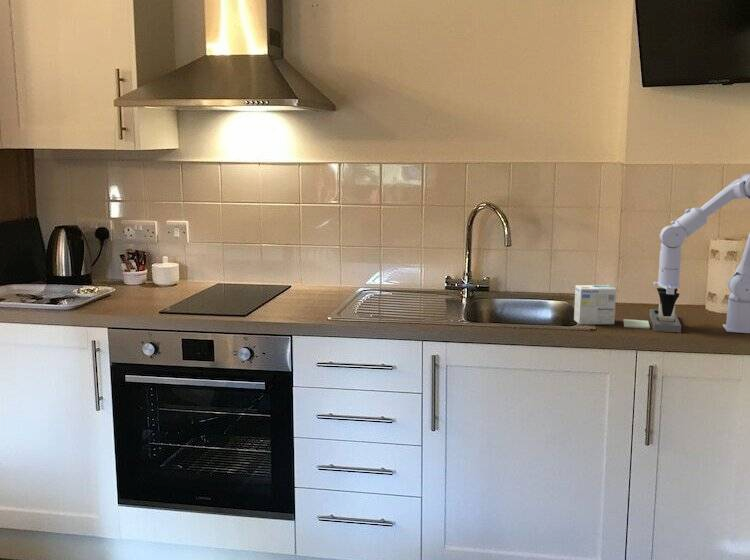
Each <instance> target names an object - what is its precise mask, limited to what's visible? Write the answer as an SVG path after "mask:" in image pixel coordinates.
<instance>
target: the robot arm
mask: <svg viewBox="0 0 750 560" xmlns="http://www.w3.org/2000/svg"><path fill="white" fill-rule="evenodd" d="M746 198H747V199H749V200H750V172H747V173H744V174H743V175H742V176H740V178H737V179H734V180H733V181H732V182H730V183H729V184H728V185H726V187H724V188H723V189H721V190H720V191H719V192H718V193H717V194H716V195H714V196H713V197H712V198H711V199H709V200H708V201H706V203H704V204H703V205H702V206H701V207H692V208H690V209H689V208H686V209H685V210H684V213H683V215H681V216H680V217H678V218H677V219H676V220H672V221H670V224H671V225H666V226H664V227H663V228H662V229H661V231H660V233H659V235H658V237H659V240H660V242H661V243H660V251H659V259H658V260H659V262H658V274H657V275H658V277H657V278H658V279H657V281H653V286H658V287H656V291H657V293H658V295H659V301H661V303H662V312H663V316H669V317H671V315H672V312H673V308H674V305H675V306H676V301H677V300H678V298H679V297H680V293H678V288H679V287H680V286H681V283H680V278H681V276H680V275H681V263H682V262H681V261H682V260H681V259H682V245H683V244H684V242H685V238H688V237H690V236H692V235H693V234H694V233H695V232H697V231H698V230H700V229H701V228H702V227H703V226H705V225H706V224H707V221H708V217H710V216H711V215H712V214H713V213H715V212H717V211H718V210H719V209H721V208H723V207H724V206H725V205H727V204H728V203H730V202H731V201H733V200H739V199H746ZM727 282H728V283H727V287H728V289H729V291H730V294H729V296H728V298H727V309H726V319H725V321H726V323H724V324H722V327H723V328H724V330H725V332H727V333H740V334H741V333H742V334H750V232H749V233H748V236H747V241H746V243H745V247H744V251H743V253H742V256H741V259H740V263H739V264H738V266H737V267H736V268H735V272H734V274H733V275H732V276H731V277H730V278H729V280H728V281H727Z"/></svg>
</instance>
